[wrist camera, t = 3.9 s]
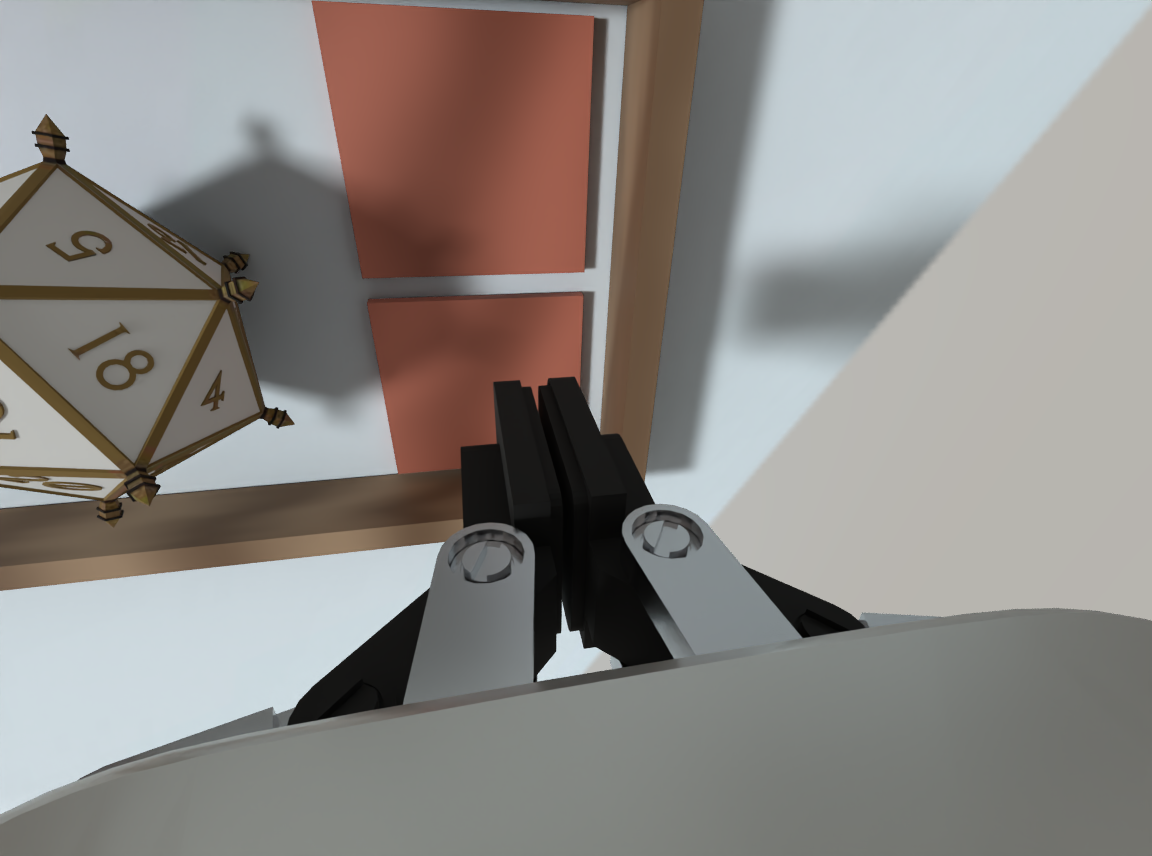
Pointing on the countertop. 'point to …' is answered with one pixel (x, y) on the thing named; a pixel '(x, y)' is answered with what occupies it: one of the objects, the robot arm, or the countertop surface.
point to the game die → (111, 340)
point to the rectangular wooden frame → (443, 274)
